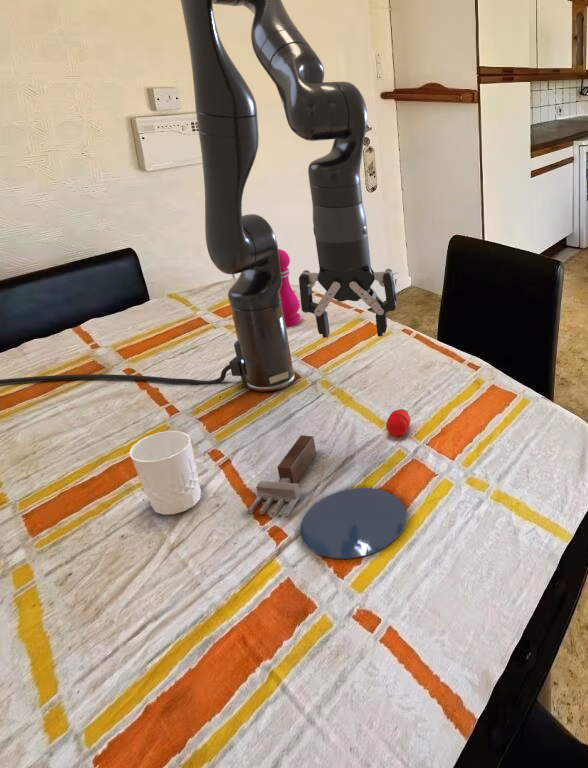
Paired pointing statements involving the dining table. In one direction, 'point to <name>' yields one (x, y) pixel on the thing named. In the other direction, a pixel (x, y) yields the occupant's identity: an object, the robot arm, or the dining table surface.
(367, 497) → the plate
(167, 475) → the white cup
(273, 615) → the dining table surface
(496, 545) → the dining table surface
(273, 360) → the robot arm
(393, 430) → the strawberry
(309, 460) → the fork
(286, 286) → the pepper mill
